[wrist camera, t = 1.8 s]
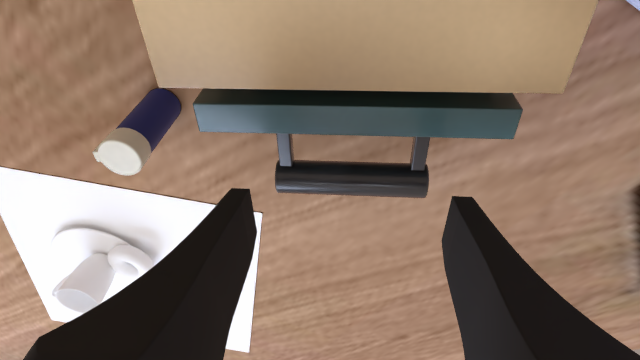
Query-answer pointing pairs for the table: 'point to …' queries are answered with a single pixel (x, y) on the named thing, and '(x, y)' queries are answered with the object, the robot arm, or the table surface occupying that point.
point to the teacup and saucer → (102, 241)
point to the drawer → (357, 131)
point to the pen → (139, 133)
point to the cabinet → (365, 44)
